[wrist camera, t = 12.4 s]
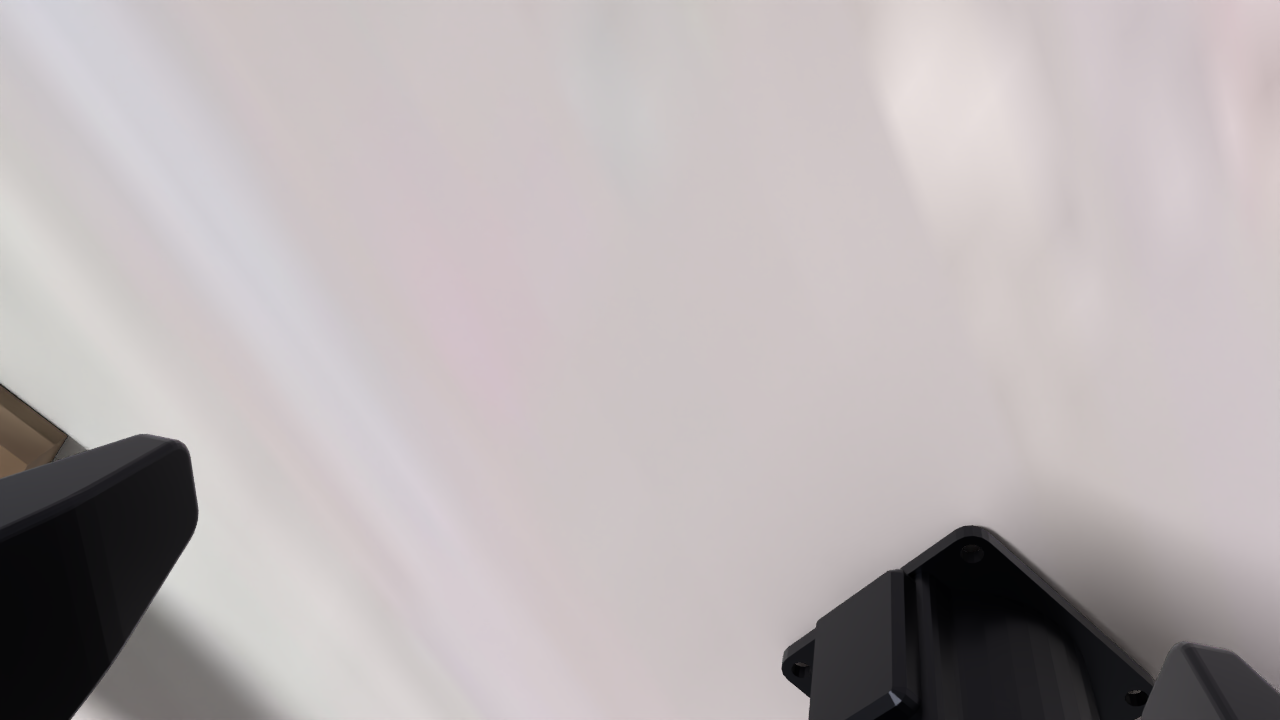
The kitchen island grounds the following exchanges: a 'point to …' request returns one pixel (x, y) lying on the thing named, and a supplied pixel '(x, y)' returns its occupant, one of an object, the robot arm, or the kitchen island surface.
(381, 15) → the kitchen island surface
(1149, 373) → the kitchen island surface
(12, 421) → the square brown tray
